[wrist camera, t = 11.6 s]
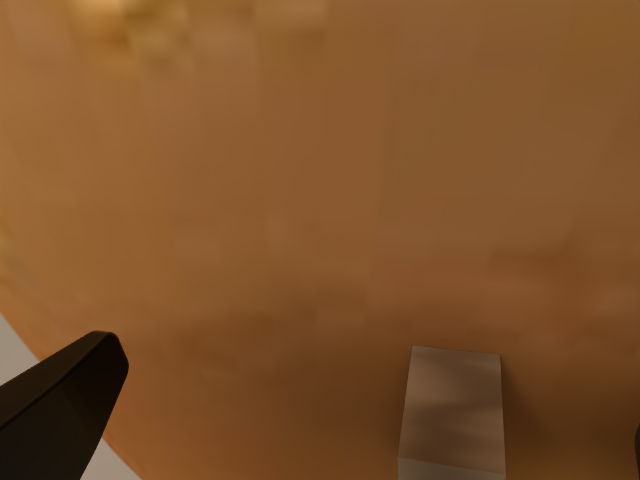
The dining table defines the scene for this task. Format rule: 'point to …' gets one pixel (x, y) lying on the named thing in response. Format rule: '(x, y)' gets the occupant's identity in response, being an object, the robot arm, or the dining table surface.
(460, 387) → the wooden mallet
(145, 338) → the dining table surface
